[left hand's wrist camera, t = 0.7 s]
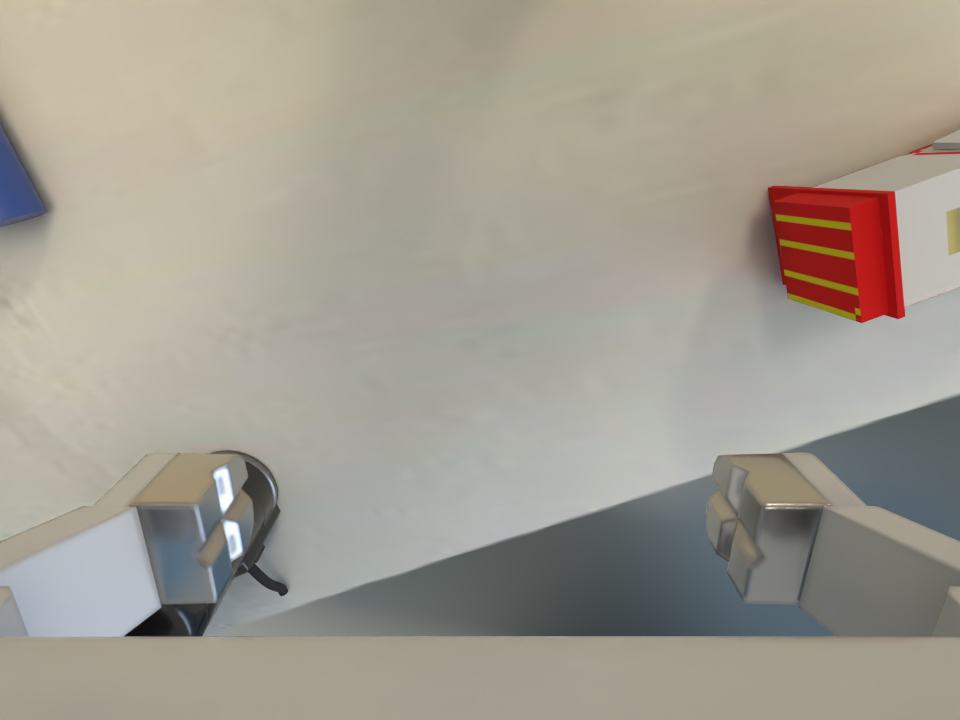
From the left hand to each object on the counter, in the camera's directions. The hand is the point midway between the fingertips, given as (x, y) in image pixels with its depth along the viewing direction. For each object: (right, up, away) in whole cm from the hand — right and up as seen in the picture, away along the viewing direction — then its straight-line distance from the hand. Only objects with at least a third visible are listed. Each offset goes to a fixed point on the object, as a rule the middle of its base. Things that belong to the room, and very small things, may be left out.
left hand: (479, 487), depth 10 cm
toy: (+40, +18, +42) cm, 60 cm away
